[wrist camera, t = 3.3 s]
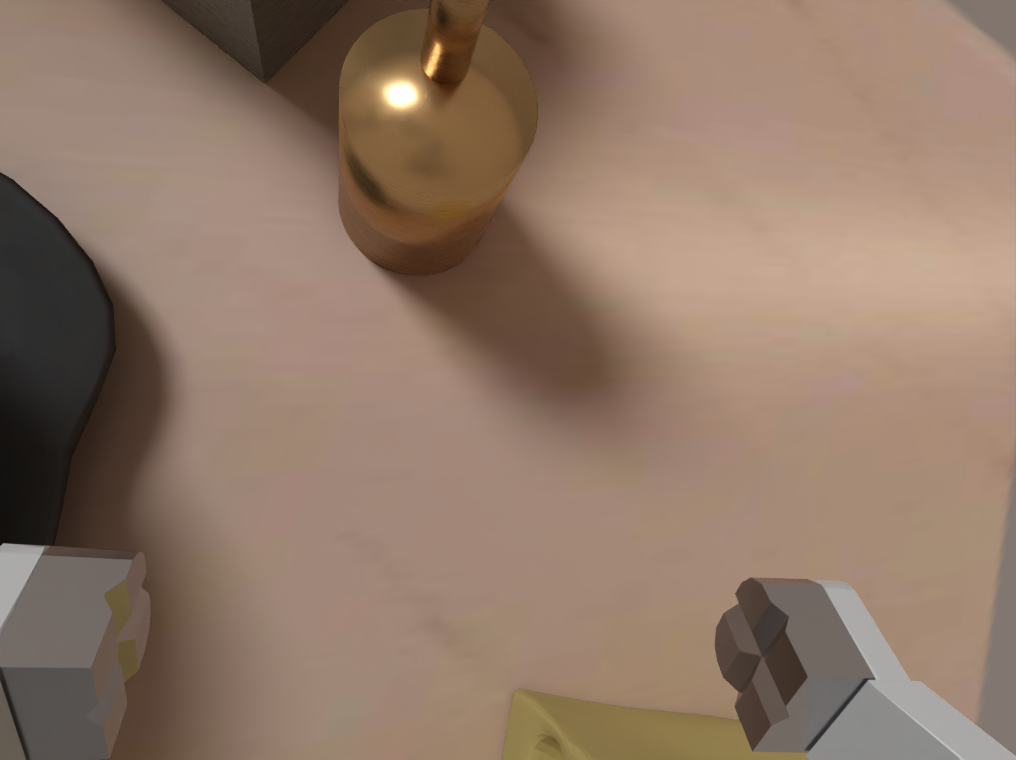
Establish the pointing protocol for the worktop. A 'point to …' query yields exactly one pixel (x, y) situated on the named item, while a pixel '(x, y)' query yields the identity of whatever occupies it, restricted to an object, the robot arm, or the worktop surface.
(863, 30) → the worktop surface
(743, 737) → the cheese
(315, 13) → the grey square box
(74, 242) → the casserole
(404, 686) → the worktop surface
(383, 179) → the spout can
